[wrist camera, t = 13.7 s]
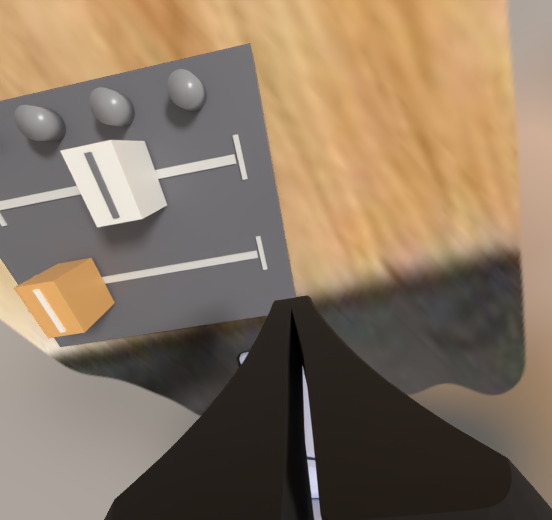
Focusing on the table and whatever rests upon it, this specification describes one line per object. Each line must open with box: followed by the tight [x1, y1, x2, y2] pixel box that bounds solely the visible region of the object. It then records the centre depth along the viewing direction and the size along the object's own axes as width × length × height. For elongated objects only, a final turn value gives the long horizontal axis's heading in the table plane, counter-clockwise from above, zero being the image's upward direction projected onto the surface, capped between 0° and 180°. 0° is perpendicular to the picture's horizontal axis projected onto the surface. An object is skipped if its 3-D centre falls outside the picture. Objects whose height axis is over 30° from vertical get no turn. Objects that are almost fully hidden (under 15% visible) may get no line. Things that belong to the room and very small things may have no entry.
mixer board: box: [0, 43, 296, 347], centre depth 17 cm, size 16×19×3 cm
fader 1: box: [60, 140, 167, 227], centre depth 14 cm, size 4×2×3 cm, turn 10°
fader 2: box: [14, 258, 115, 338], centre depth 16 cm, size 4×2×3 cm, turn 10°
